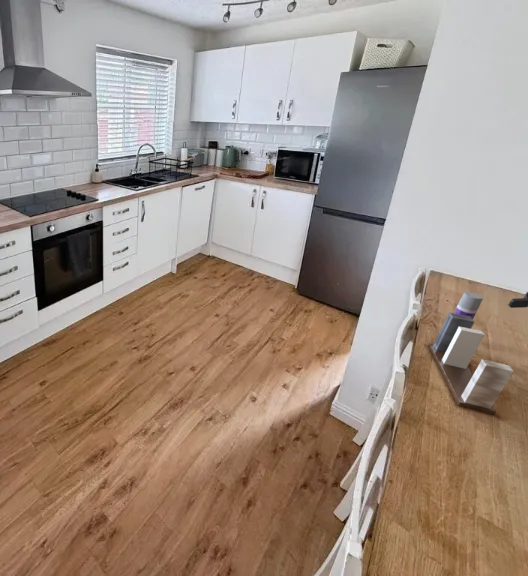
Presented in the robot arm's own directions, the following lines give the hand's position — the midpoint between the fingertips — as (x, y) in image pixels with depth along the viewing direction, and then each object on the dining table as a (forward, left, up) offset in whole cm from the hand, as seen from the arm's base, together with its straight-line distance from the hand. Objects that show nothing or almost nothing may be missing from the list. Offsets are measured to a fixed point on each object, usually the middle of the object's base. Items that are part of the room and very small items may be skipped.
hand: (522, 315), depth 87 cm
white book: (+6, -4, -19) cm, 20 cm away
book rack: (+6, 0, -20) cm, 21 cm away
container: (+1, -22, -20) cm, 30 cm away
